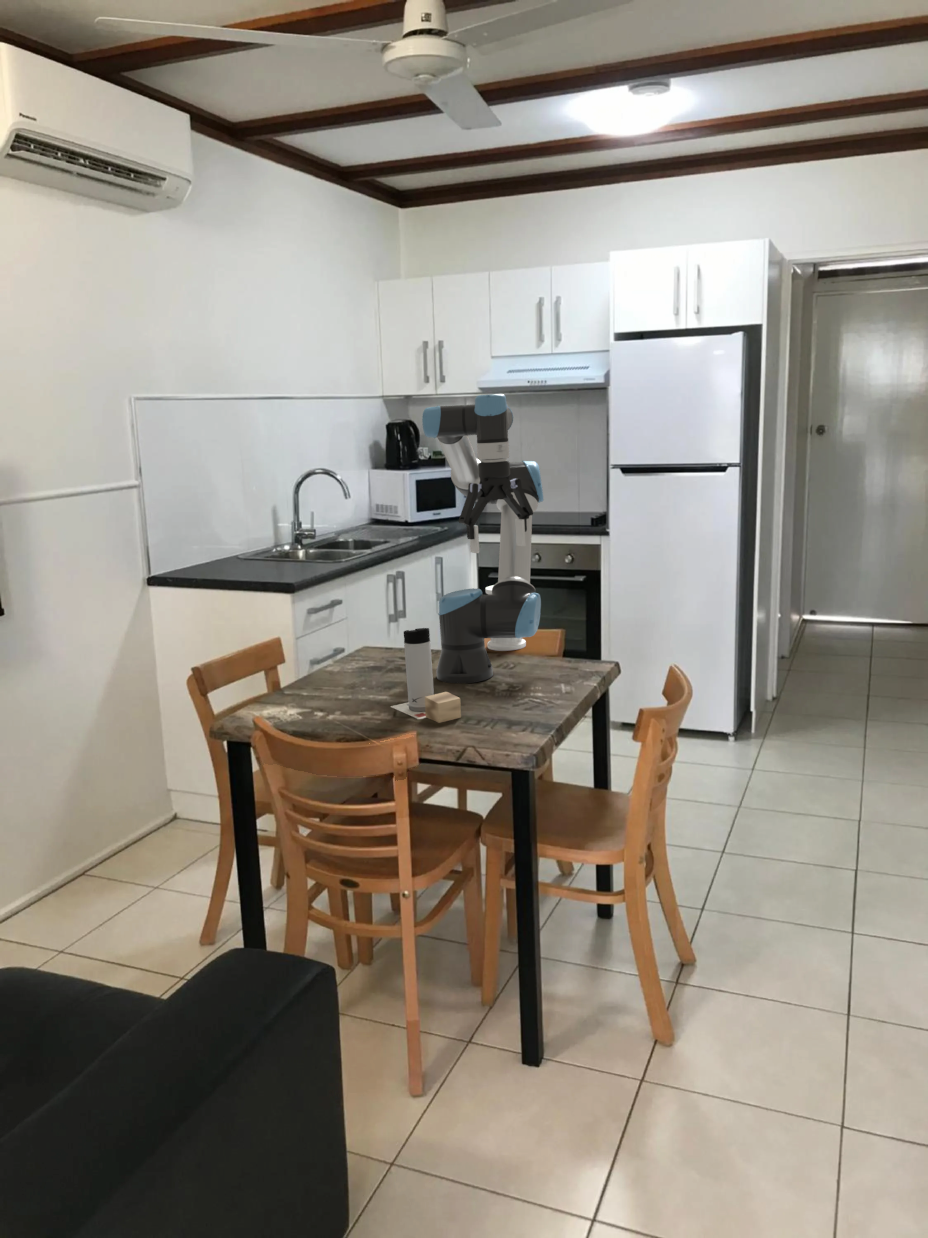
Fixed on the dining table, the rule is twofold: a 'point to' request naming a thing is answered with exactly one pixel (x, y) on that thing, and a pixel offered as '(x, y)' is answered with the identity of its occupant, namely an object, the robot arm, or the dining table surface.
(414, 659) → the travel mug
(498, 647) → the decorative container
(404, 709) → the letter
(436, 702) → the oak block
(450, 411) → the robot arm
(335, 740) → the dining table surface
